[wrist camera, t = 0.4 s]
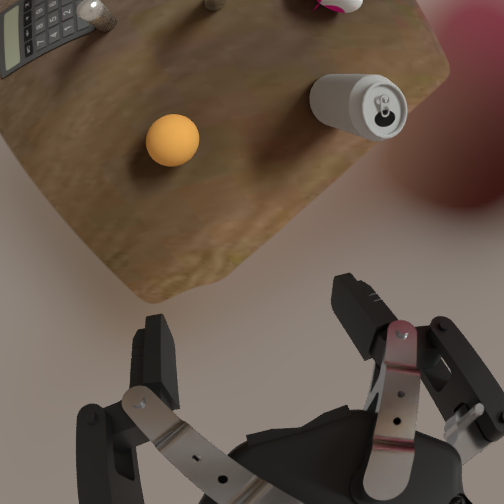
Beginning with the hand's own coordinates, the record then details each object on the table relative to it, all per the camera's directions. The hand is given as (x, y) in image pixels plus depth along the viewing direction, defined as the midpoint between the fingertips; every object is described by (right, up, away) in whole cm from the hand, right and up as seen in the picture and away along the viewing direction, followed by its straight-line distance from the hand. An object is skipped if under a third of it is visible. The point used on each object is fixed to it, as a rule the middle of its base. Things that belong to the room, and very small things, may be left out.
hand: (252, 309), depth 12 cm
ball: (-9, +15, +16) cm, 24 cm away
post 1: (-17, +29, +8) cm, 35 cm away
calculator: (-27, +32, +4) cm, 42 cm away
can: (+11, +23, +20) cm, 32 cm away
